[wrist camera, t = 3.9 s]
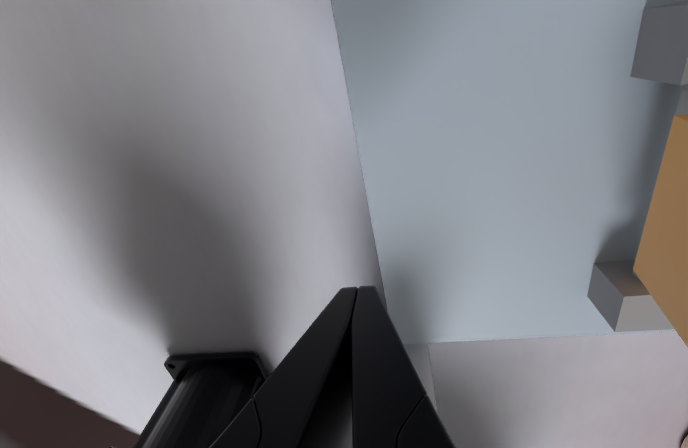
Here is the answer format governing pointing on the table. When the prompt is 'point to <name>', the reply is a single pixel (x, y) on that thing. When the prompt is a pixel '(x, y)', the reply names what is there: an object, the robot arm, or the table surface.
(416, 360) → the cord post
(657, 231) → the thick orange slab
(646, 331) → the panel
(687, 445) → the teacup with lid
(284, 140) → the table surface
